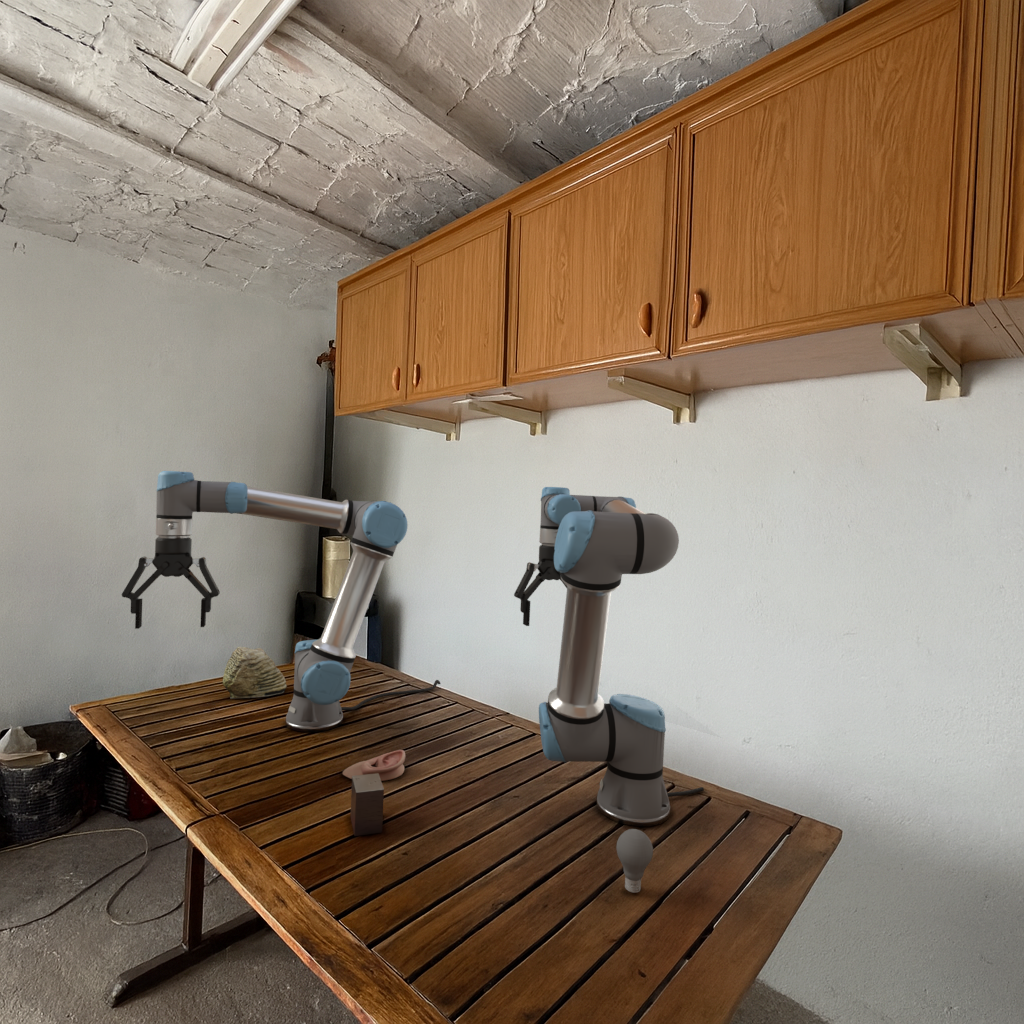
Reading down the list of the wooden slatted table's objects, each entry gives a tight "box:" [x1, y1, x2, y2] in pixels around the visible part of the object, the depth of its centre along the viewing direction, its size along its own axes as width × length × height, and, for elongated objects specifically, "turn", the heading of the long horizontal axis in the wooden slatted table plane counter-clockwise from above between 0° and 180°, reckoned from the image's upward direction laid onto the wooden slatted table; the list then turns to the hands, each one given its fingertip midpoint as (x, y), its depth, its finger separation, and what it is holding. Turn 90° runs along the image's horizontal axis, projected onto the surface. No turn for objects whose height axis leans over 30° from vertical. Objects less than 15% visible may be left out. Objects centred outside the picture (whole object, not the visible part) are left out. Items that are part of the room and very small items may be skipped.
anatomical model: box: [342, 749, 406, 782], centre depth 146 cm, size 13×4×12 cm
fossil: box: [222, 646, 288, 699], centre depth 198 cm, size 9×18×15 cm, turn 132°
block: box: [350, 773, 385, 837], centre depth 123 cm, size 5×7×8 cm
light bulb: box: [615, 828, 654, 894], centre depth 106 cm, size 6×6×10 cm
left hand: (171, 626), depth 149 cm, fingers open, 13 cm apart
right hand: (549, 624), depth 169 cm, fingers open, 13 cm apart
